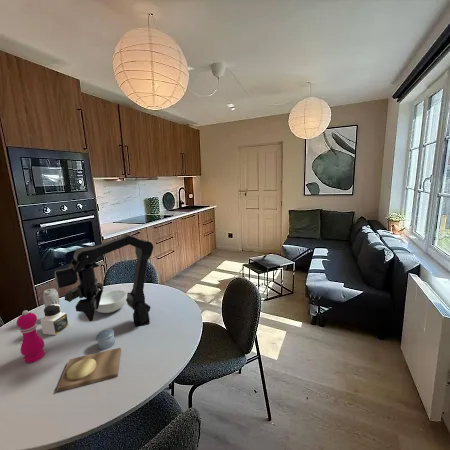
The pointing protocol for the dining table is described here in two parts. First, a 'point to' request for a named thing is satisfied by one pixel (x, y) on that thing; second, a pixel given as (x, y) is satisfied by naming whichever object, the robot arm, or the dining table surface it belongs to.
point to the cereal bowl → (112, 301)
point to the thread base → (90, 369)
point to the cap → (105, 339)
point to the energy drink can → (51, 297)
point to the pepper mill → (30, 337)
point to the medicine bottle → (54, 320)
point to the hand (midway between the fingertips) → (94, 314)
